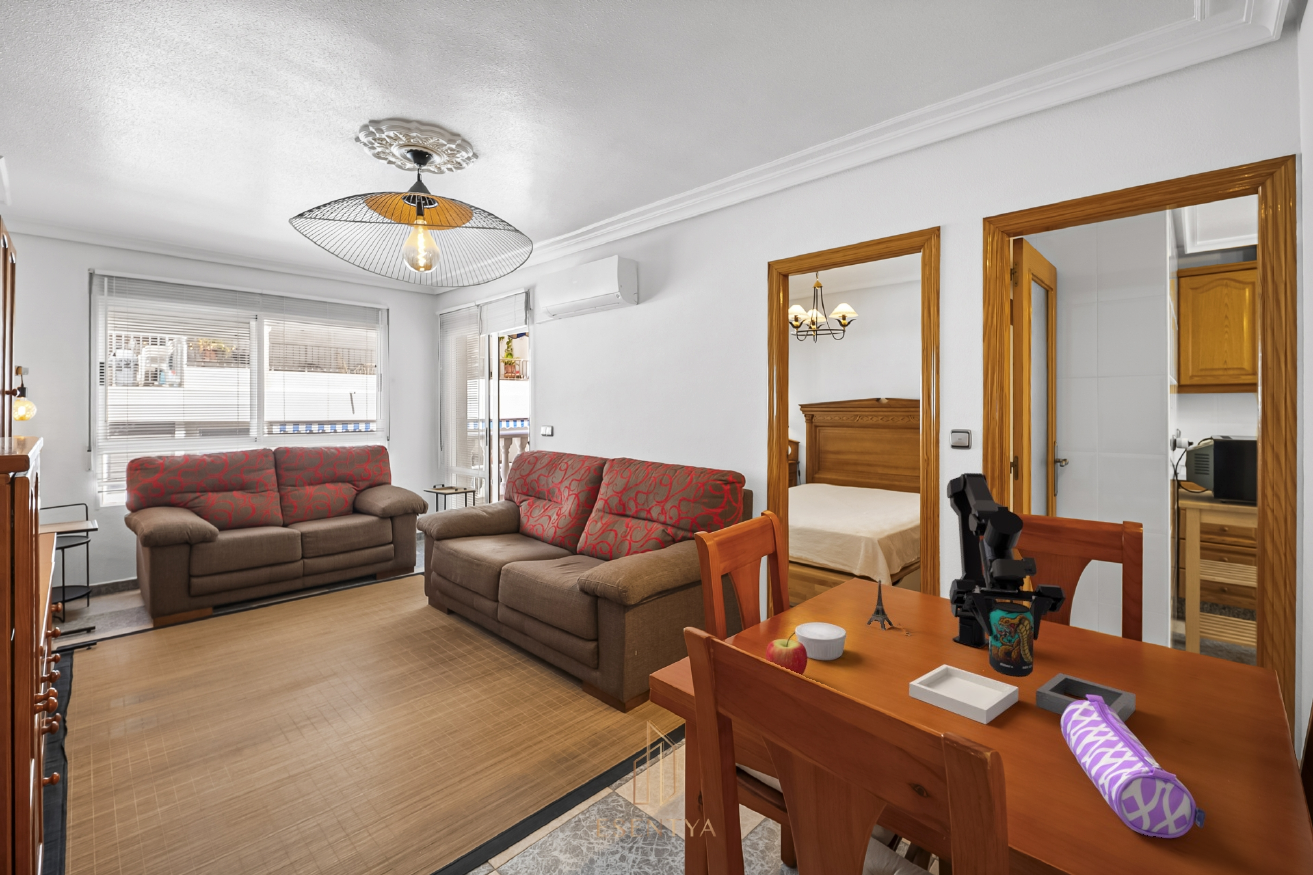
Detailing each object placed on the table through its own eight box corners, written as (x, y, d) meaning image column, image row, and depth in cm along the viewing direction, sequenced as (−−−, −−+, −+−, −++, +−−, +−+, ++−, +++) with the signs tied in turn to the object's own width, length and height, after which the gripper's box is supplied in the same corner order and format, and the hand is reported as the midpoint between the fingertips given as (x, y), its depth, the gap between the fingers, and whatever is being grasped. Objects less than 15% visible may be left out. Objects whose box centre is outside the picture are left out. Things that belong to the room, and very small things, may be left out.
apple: (799, 691, 119) (799, 640, 118) (759, 681, 123) (759, 633, 123) (813, 675, 126) (813, 628, 125) (774, 667, 130) (774, 621, 130)
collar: (1059, 687, 119) (1059, 672, 119) (1135, 710, 110) (1135, 694, 110) (1035, 706, 112) (1036, 690, 112) (1115, 732, 102) (1115, 714, 102)
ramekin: (791, 658, 135) (791, 635, 135) (799, 641, 145) (799, 619, 145) (844, 665, 131) (844, 641, 131) (848, 647, 141) (848, 625, 141)
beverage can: (1012, 680, 108) (1013, 614, 107) (980, 665, 114) (981, 602, 114) (1042, 675, 110) (1043, 609, 109) (1008, 660, 116) (1009, 598, 116)
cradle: (944, 676, 125) (944, 664, 125) (1018, 700, 114) (1018, 687, 114) (909, 695, 116) (909, 683, 116) (985, 724, 105) (985, 710, 105)
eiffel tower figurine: (912, 638, 148) (912, 584, 148) (870, 637, 149) (870, 584, 148) (892, 618, 163) (892, 569, 162) (853, 617, 163) (854, 568, 163)
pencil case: (1207, 852, 74) (1209, 777, 74) (1120, 840, 77) (1121, 767, 76) (1117, 755, 96) (1118, 696, 96) (1051, 747, 98) (1052, 690, 98)
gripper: (952, 538, 118) (963, 612, 107) (1063, 543, 112) (1085, 621, 102) (945, 568, 125) (954, 639, 115) (1048, 574, 120) (1067, 649, 110)
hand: (1012, 637), depth 110 cm, fingers closed on beverage can, 7 cm apart
